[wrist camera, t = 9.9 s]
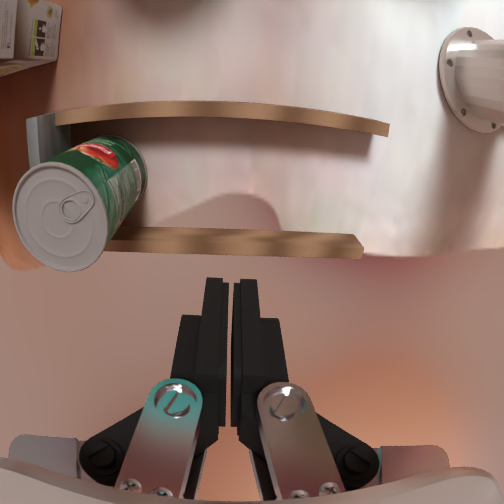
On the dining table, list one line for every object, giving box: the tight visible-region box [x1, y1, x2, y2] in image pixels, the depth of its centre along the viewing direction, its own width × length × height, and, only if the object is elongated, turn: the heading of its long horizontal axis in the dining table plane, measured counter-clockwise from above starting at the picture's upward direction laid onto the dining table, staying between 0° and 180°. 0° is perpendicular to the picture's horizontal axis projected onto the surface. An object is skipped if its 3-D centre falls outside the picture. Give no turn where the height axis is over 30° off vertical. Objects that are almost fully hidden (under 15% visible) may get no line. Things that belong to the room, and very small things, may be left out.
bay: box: [26, 101, 390, 259], centre depth 25 cm, size 30×13×6 cm, turn 86°
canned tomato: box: [12, 135, 147, 272], centre depth 22 cm, size 8×8×11 cm
